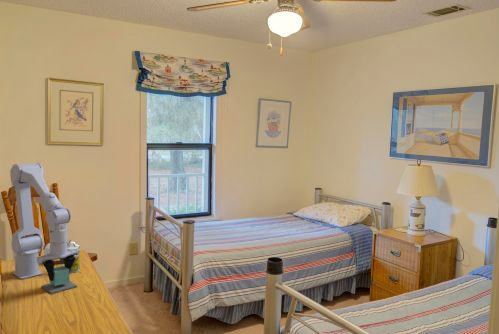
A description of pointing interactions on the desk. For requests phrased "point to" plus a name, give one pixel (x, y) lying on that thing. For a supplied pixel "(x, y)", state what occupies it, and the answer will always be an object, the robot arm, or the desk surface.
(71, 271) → the supplement bottle
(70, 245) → the giant panda
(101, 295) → the desk surface
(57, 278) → the teal cube
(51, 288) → the slate mat
